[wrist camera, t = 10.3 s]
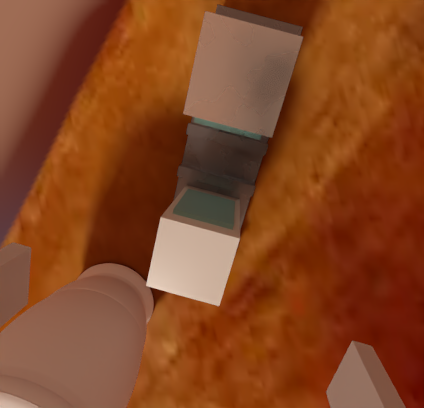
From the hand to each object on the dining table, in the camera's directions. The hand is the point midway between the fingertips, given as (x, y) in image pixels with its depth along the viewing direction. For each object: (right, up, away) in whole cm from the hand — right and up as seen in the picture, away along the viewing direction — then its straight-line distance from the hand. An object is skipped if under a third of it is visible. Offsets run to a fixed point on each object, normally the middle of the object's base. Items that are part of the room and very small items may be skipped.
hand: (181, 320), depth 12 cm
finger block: (+1, +4, +13) cm, 13 cm away
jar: (-9, -5, +18) cm, 21 cm away
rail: (+2, +9, +13) cm, 16 cm away
